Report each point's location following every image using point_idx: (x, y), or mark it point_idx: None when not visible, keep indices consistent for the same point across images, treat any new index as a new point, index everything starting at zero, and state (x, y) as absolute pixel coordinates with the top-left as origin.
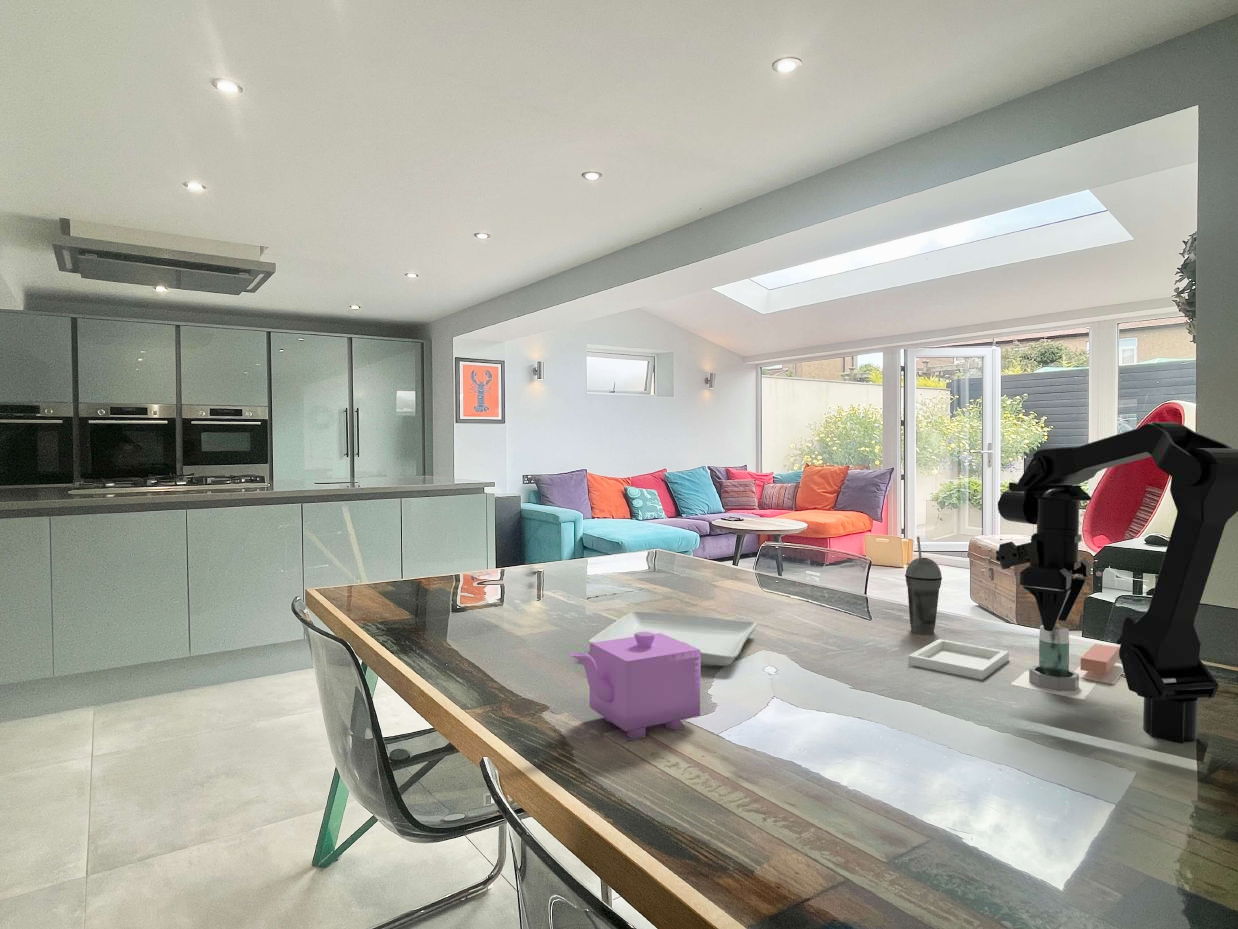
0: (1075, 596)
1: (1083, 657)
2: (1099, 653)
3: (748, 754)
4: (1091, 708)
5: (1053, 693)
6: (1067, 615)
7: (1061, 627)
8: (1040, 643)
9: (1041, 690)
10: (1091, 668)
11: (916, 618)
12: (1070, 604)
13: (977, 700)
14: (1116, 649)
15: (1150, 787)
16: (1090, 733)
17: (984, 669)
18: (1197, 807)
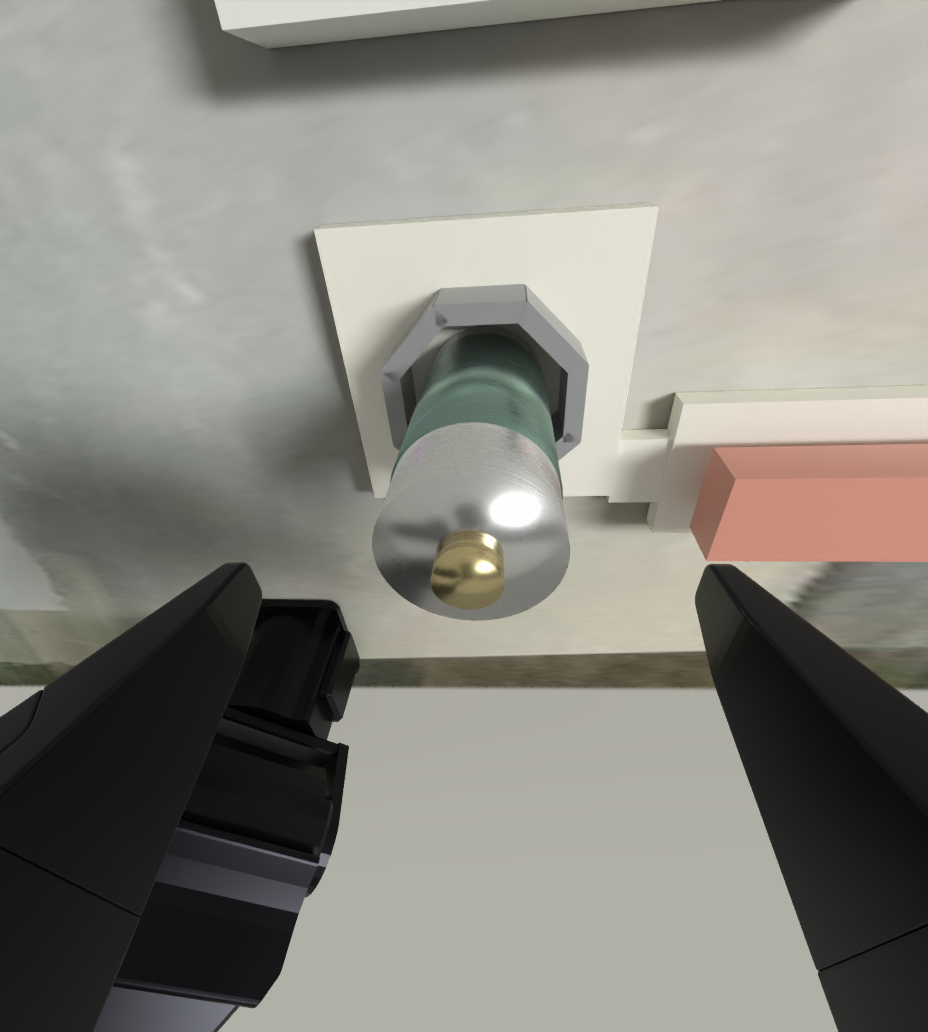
0: (790, 884)
1: (749, 487)
2: (886, 521)
3: None
4: (382, 502)
5: (356, 413)
6: (706, 649)
7: (527, 583)
8: (417, 427)
9: (352, 370)
10: (706, 492)
11: None
12: (756, 761)
13: (38, 149)
14: None
15: (33, 628)
16: (173, 532)
17: (266, 26)
18: (45, 666)
